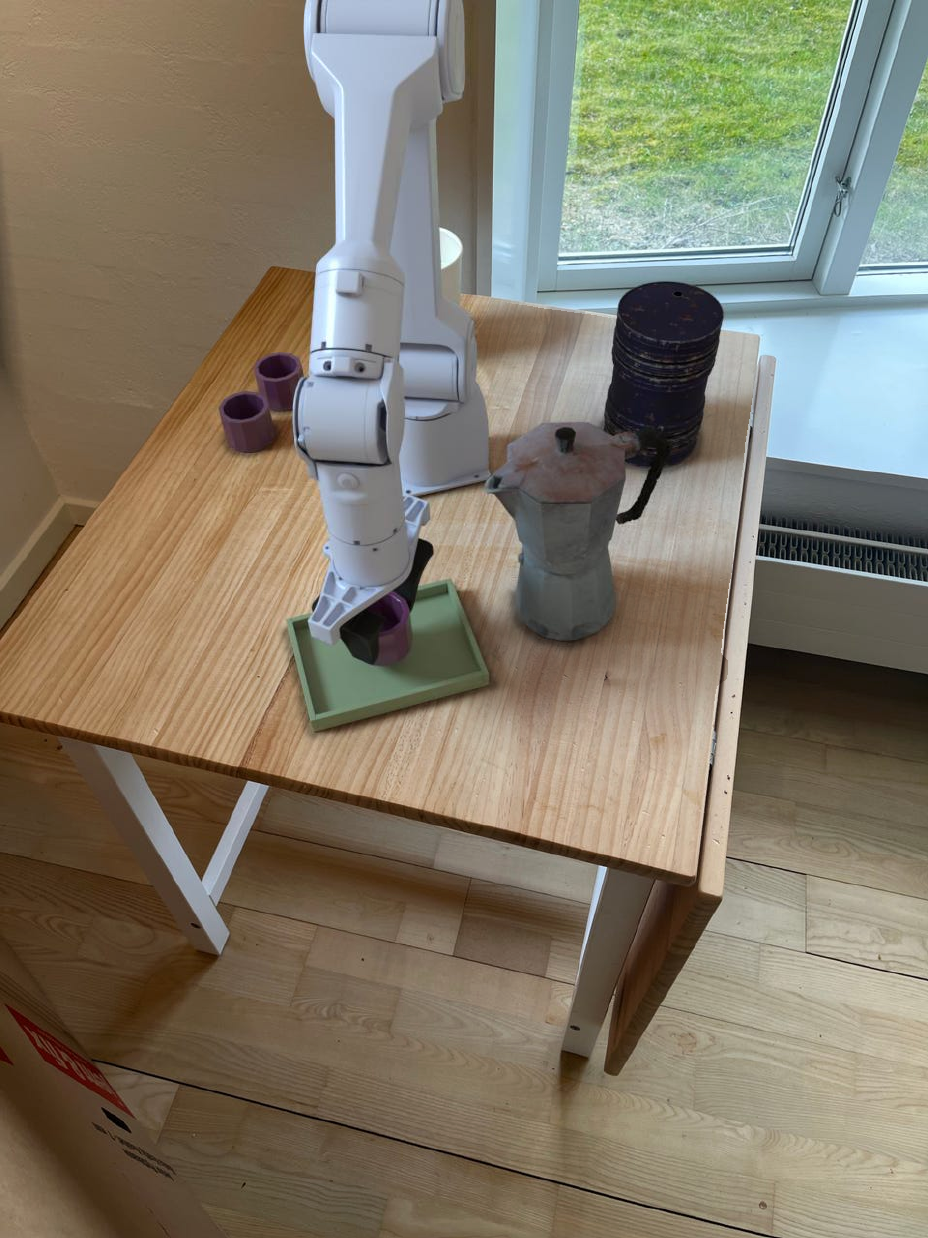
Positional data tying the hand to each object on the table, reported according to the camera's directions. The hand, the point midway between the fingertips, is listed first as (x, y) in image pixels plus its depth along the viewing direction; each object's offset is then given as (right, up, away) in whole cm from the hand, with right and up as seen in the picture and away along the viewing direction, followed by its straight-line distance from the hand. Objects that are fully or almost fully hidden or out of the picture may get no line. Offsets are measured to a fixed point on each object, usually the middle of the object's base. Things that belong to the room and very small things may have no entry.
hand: (382, 632), depth 79 cm
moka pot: (+16, +3, +6) cm, 17 cm away
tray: (0, -2, +3) cm, 3 cm away
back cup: (-13, +26, +25) cm, 38 cm away
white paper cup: (+2, +33, +31) cm, 45 cm away
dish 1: (-16, +20, +21) cm, 33 cm away
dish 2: (0, -1, +1) cm, 1 cm away
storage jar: (+26, +20, +20) cm, 38 cm away
